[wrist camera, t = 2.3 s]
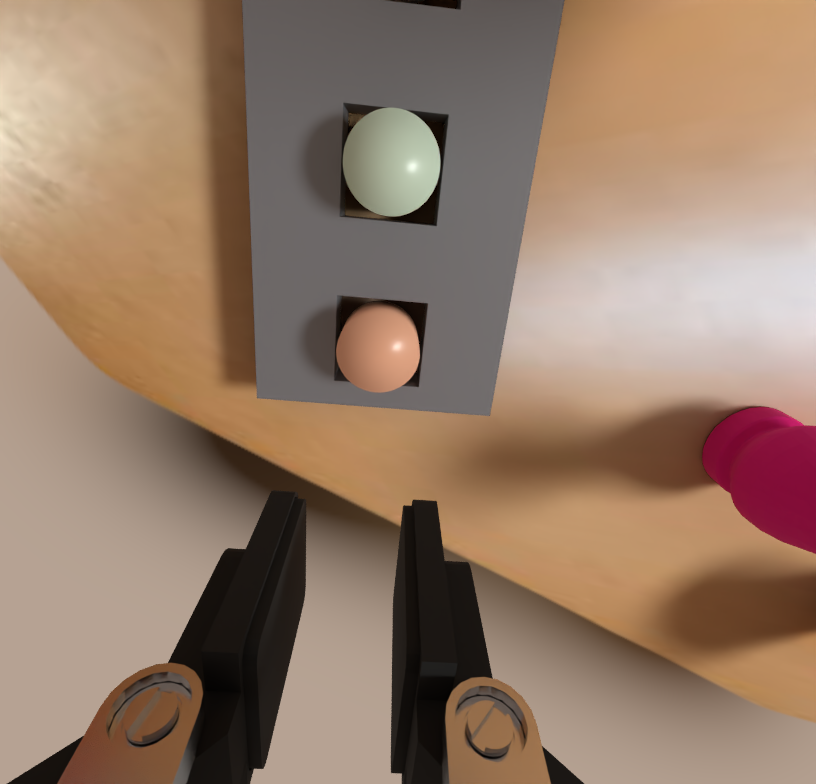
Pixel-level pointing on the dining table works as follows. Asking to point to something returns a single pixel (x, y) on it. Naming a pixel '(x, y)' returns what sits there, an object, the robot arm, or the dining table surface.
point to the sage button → (391, 162)
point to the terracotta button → (378, 347)
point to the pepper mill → (768, 472)
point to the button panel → (380, 238)
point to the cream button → (409, 1)
